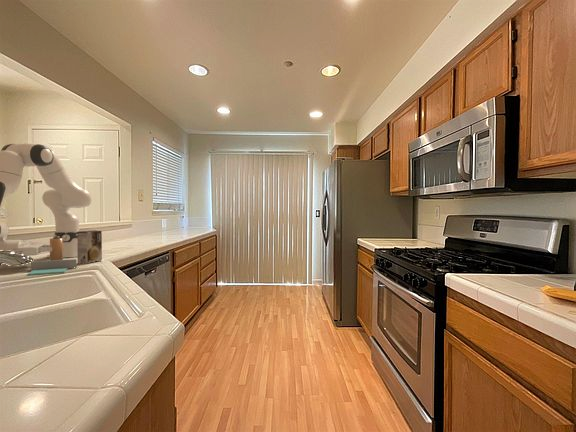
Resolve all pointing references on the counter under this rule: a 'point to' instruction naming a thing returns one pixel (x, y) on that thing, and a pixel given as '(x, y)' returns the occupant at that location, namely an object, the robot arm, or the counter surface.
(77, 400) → the counter surface
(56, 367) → the counter surface
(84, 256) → the coffee box
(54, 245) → the amber bottle
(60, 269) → the pad
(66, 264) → the acrylic wall
